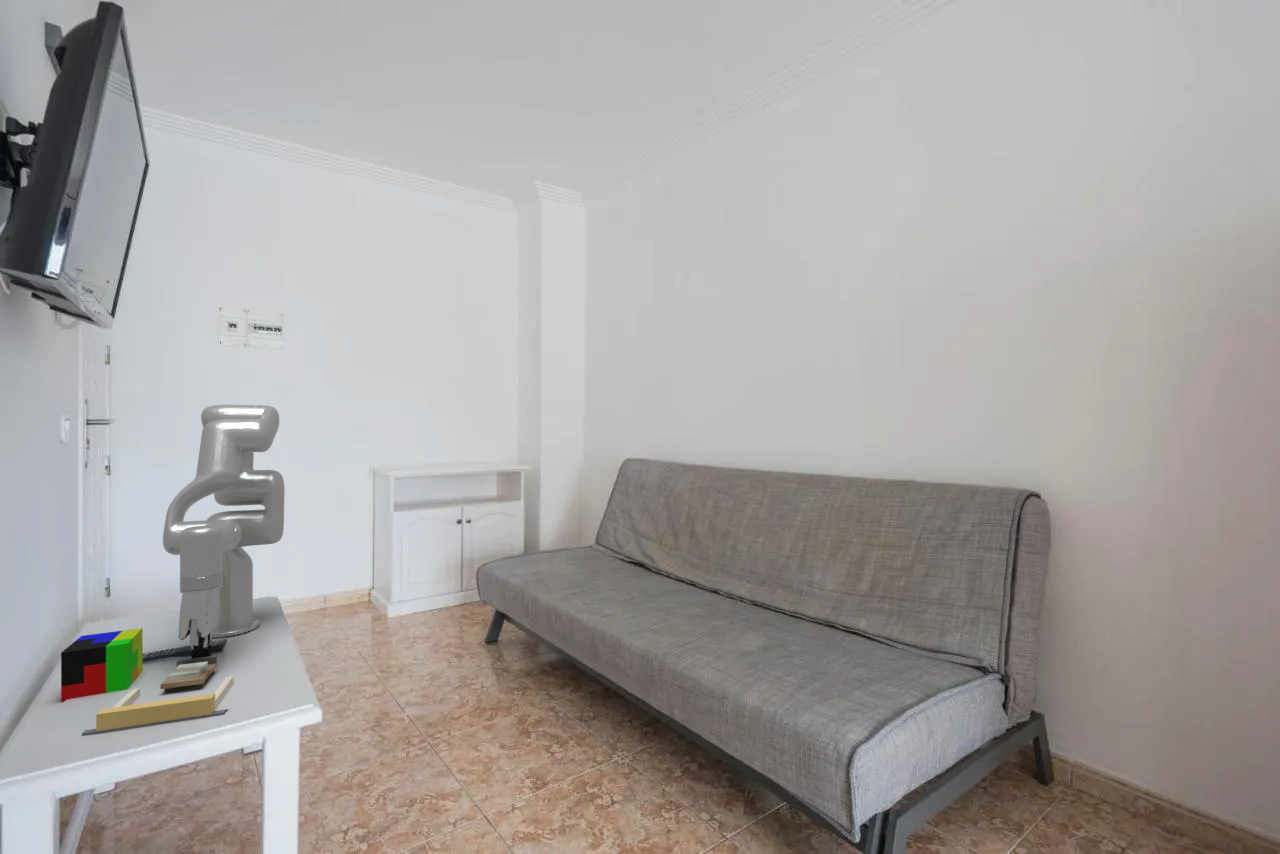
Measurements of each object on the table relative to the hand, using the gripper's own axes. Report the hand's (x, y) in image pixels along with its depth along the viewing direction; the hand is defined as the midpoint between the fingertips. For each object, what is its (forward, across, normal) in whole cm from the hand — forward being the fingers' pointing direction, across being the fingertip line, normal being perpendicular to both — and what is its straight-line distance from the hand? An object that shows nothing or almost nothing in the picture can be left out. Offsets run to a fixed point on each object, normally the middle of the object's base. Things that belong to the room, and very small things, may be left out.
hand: (201, 665), depth 126 cm
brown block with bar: (+1, +6, 0) cm, 7 cm away
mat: (+2, +10, 0) cm, 10 cm away
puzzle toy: (+2, +1, -16) cm, 17 cm away
